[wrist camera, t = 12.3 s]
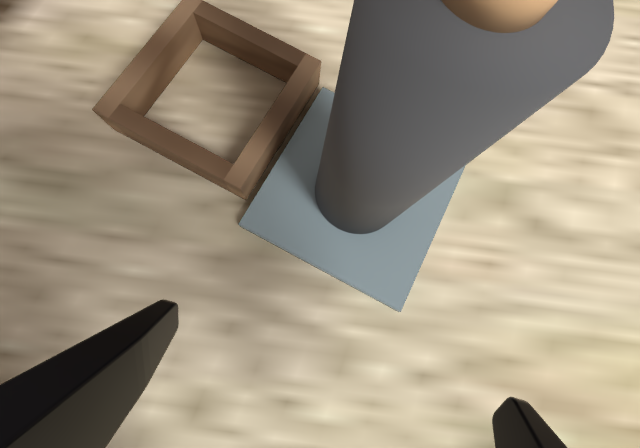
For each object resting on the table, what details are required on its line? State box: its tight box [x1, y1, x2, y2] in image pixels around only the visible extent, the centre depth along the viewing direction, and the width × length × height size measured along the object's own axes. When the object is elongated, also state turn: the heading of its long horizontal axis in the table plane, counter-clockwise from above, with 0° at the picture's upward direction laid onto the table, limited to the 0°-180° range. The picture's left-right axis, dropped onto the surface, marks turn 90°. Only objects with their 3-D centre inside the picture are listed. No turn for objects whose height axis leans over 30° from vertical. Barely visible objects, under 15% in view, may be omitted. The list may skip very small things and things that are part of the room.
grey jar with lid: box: [315, 0, 614, 234], centre depth 12 cm, size 5×5×14 cm
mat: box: [239, 87, 465, 312], centre depth 18 cm, size 10×10×1 cm
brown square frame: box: [92, 0, 321, 200], centre depth 18 cm, size 9×9×2 cm
